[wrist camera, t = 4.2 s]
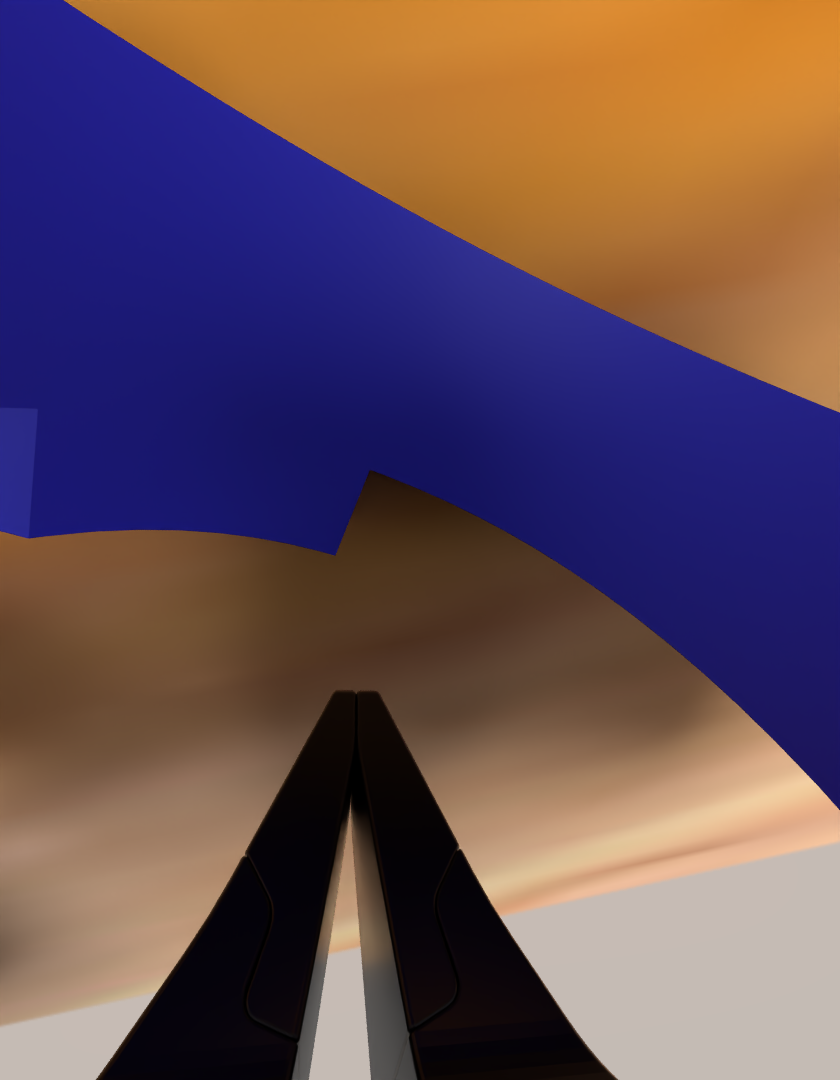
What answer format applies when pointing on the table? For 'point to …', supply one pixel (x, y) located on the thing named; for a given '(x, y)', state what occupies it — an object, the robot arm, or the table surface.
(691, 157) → the table surface
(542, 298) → the cable clip
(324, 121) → the table surface
